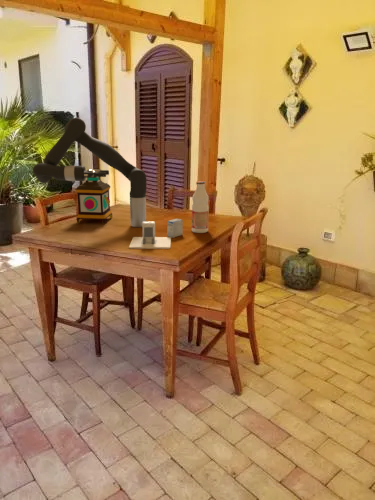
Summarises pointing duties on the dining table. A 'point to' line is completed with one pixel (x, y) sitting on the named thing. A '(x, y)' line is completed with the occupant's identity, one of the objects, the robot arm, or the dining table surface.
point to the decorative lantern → (93, 200)
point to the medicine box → (174, 228)
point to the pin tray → (159, 243)
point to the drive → (148, 231)
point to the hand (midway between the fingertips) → (107, 173)
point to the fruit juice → (200, 209)
